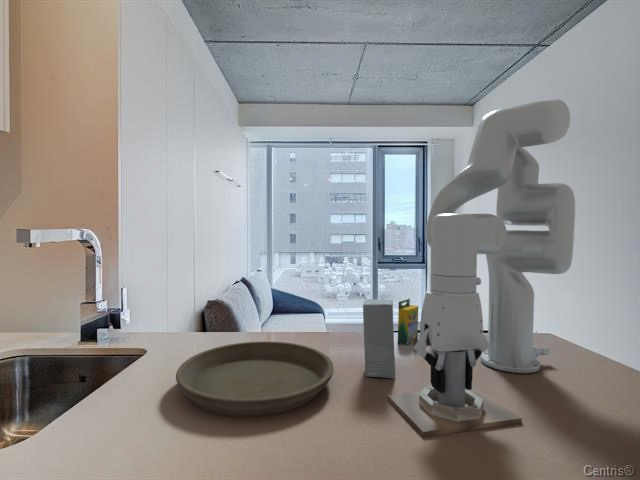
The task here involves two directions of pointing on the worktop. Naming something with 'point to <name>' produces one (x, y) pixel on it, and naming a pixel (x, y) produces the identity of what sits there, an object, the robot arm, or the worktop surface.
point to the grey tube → (454, 379)
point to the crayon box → (407, 322)
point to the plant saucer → (254, 377)
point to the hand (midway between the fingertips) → (451, 387)
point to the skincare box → (379, 338)
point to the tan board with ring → (451, 412)
